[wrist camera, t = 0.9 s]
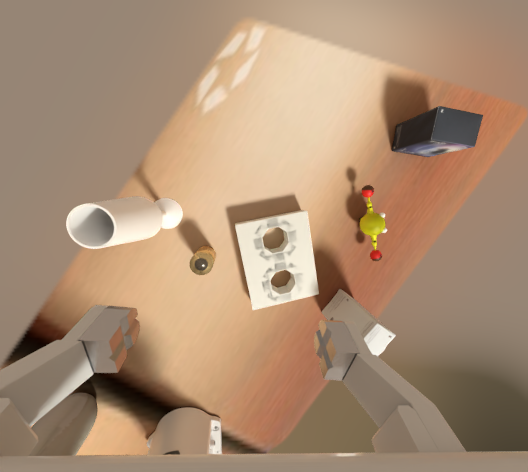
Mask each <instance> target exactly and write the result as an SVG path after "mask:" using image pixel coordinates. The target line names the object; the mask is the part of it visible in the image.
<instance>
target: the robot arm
mask: <svg viewBox="0 0 528 472" xmlns="http://www.w3.org/2000/svg"><path fill="white" fill-rule="evenodd" d="M137 315H138V314H137V309H136V308H128V307H117V306H103V305H95V306H93V307H92V308H91V309H90V310H89V311H88V312H87V313H86V314H85V315H84V316H83V317H82V318H81V319H80V320H79V321H78V323H77V324H76V325H75V326H74V327H73V328H72V329H71V330H70V331H69V332H68V333H67V334H66V335H65V336H64V338H63V339H62V340H56V341H54V342H52V343H50V344H48V345H46V346H45V347H43V348H41V349H39V350H37V351H35V352H33V353H31V354H30V355H28V356H26V357H24V358H22V359H20V360H18V361H16V362H15V363H13V364H11V365H9V366H7V367H5V368H3V369H2V370H0V472H528V452H466V451H465V449H464V448H463V446H462V445H461V443H460V442H459V440H458V439H457V437H456V436H455V434H454V433H453V431H452V430H451V428H450V427H449V425H448V424H447V422H446V421H445V419H444V418H443V416H442V415H441V413H440V412H439V410H438V409H437V407H436V406H435V405H434V404H433V403H432V402H431V401H429V400H428V399H427V398H426V397H425V396H424V395H422V394H421V393H420V392H419V391H418V390H417V389H415V388H414V387H413V386H412V385H411V384H409V383H408V382H407V381H406V380H405V379H403V378H402V377H401V376H400V375H398V373H396V372H395V371H394V370H393V369H392V368H390V367H389V366H388V365H387V364H386V363H385V362H383V361H382V360H381V359H380V358H379V357H378V356H376V355H372V353H371V351H370V349H369V348H368V346H367V344H366V342H365V340H364V339H363V337H362V335H361V333H360V331H359V329H358V328H357V326H356V324H355V323H354V322H351V321H335V320H321V321H320V323H319V325H318V326H319V329H320V330H318V331H317V332H316V334H315V337H314V346H315V351H316V354H317V355H318V356H319V357H320V358H321V360H320V363H319V365H320V368H321V372H322V375H323V378H324V379H326V380H342V381H343V383H344V384H345V385H346V387H347V388H348V389H349V390H350V392H351V393H352V394H353V395H354V396H355V398H356V399H357V400H358V402H359V403H360V404H361V406H362V407H363V408H364V409H365V411H366V412H367V413H368V414H369V416H370V417H371V418H372V419H373V421H374V422H375V423H376V424H377V426H378V427H379V428H380V429H379V430H378V431H377V432H376V434H375V435H374V436H373V438H372V444H373V446H374V448H375V451H376V453H302V454H301V453H300V454H222V439H221V419H220V418H219V417H216V416H211V415H208V414H207V413H205V412H204V411H202V410H200V409H197V408H191V407H186V408H179V409H176V410H173V411H171V412H169V413H168V414H166V415H165V416H164V417H163V418H162V419H161V420H160V422H159V423H158V425H157V428H156V430H155V432H154V433H153V434H152V435H151V436H150V437H149V438H148V441H147V446H148V448H149V451H148V455H85V456H29V455H30V453H31V452H32V450H33V449H34V447H35V446H36V444H37V443H38V436H37V435H36V434H35V432H34V431H33V430H32V428H31V426H32V425H33V424H34V423H35V422H37V421H38V420H39V419H40V418H41V417H43V416H44V415H45V414H46V413H47V412H49V411H50V410H51V409H52V408H53V407H55V406H56V405H57V404H58V403H59V402H61V401H62V400H63V399H64V398H65V397H67V396H68V395H69V394H70V393H72V392H73V391H74V390H75V389H76V388H78V387H79V386H80V385H81V384H82V383H84V382H85V381H86V380H87V379H88V378H90V377H91V376H92V375H93V374H94V373H118V372H119V370H120V368H121V366H122V364H123V363H124V361H125V359H126V357H127V352H126V350H128V349H129V348H130V347H132V346H133V345H134V343H135V341H136V339H137V337H138V334H139V327H140V325H139V321H137V320H136V319H135V318H136V316H137Z"/></svg>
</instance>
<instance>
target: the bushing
mask: <svg viewBox="0 0 528 472" xmlns="http://www.w3.org/2000/svg"><path fill="white" fill-rule="evenodd" d="M215 258H216V253H215V251H214V249H213V248H211V247H209V246H203V247H201V248H199V249H198V251H197V252H196V253H195V255H194V256H193V257H192V259H191V260H190V268H191V270H192V271H193V272H194V273H195V274H198V275H205V274H207V273H209V272H210V271H211V269H212V267H213V264H214V261H215Z"/></svg>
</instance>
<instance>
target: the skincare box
mask: <svg viewBox="0 0 528 472" xmlns="http://www.w3.org/2000/svg"><path fill="white" fill-rule="evenodd" d="M322 313H323V315H324V316H325V317H326V319H327V320H335V321H351V322H354V323H355V324H356V326H357V328H358V329H359V331H360V333H361V335H362V337H363V339H364V340H365V342H366V344H367V346H368V348H369V349H370V351H371V353H372V355H376V356H378V355H379V354H380V353H382V352H383V351H384V350H385V348H386V346H387V345H388V344H389V343H390V341H391V340H392V339H393V338H394V337H395V336H396V335H395V334H394V333H393V332H391V331H390V330H389V329H388V328H387V327H386V326H385V325H383V324H382V323H381V322H380V321H379V320H378V319H377V318H375V317H374V316H373V315H372V314H371V313H370V312H369V311H367V310H366V309H365V308H364V307H363V306H362V305H361V304H360V303H358V302H357V301H356V300H355V299H354V298H352V297H351V296H350V295H348V294H347V293H346V292H344V291H343V290H341V289H339V290H338V292H337V293H336V295H335V296H334V297H333V299H332V300H331V301H330V302H329V303H328V305H327V306H326V307H325V308H324V309H323V310H322Z"/></svg>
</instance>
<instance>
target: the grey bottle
mask: <svg viewBox="0 0 528 472" xmlns="http://www.w3.org/2000/svg"><path fill="white" fill-rule="evenodd" d="M96 416H97V402H96V400H95V398H94V397H93V396H92V395H90V394H87V393H74V394H71V395H69V396H67V397H65V398H64V399H63V400H62V401H61V402H59V403H58V404H57V405H56V406H55V407H53V408H52V409H51V410H50V411H49V412H47V413H46V414H45V415H44V416H43V417H41V418H40V419H39V420H38V421H37V422H36V423H35V424H34V425H33V427H32V430H33V431H34V432H35V434H36V435H37V436H38V443H37V444H36V446H35V447H34V449H33V450H32V452H31V453H30V455H29V456H75V455H76V454H77V452H78V450H79V449H80V447H81V446H82V444H83V442H84V441H85V439H86V438H87V436H88V434H89V432H90V431H91V429H92V427H93V425H94V422H95V420H96Z"/></svg>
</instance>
